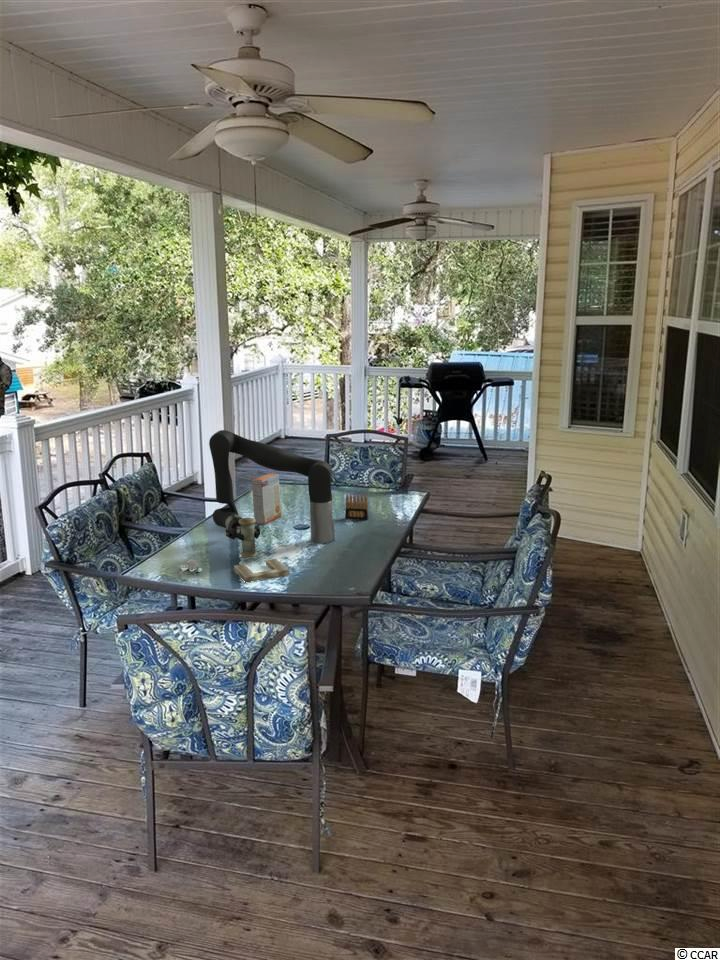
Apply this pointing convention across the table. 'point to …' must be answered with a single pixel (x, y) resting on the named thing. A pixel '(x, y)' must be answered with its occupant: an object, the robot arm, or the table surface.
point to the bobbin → (248, 538)
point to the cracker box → (266, 498)
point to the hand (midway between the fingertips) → (250, 537)
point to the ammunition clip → (354, 512)
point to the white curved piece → (190, 565)
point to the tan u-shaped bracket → (272, 564)
